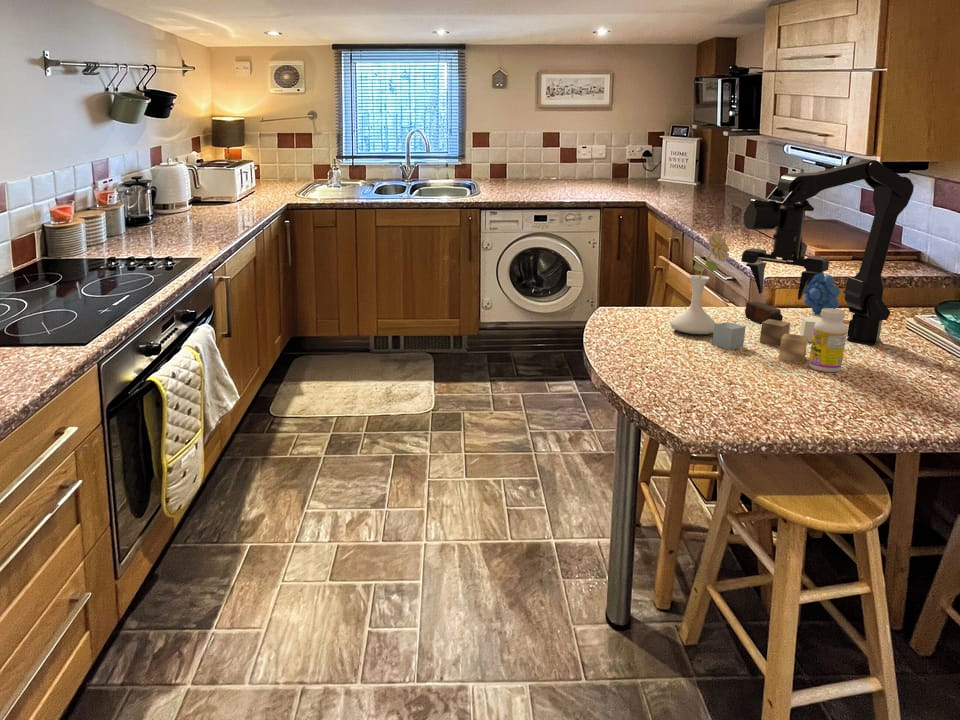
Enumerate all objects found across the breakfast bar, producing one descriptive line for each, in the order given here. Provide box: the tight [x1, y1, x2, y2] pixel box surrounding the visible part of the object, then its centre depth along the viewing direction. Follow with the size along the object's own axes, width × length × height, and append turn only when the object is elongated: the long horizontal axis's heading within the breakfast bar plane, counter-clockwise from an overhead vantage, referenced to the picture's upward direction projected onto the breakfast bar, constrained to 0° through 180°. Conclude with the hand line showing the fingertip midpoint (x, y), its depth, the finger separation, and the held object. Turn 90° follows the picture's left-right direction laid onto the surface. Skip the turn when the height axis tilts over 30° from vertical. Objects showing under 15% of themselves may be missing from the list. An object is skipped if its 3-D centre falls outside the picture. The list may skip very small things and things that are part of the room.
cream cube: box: [799, 316, 822, 343], centre depth 213 cm, size 5×5×5 cm
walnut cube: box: [759, 319, 791, 347], centre depth 209 cm, size 5×5×5 cm
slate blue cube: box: [711, 321, 746, 351], centre depth 205 cm, size 5×5×5 cm
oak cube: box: [778, 333, 808, 364], centre depth 196 cm, size 5×5×5 cm
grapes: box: [803, 272, 841, 315], centre depth 239 cm, size 12×7×12 cm, turn 38°
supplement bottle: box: [808, 308, 848, 373], centre depth 188 cm, size 7×7×13 cm
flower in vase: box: [669, 229, 730, 335], centre depth 213 cm, size 13×11×25 cm
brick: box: [744, 300, 783, 325], centre depth 229 cm, size 11×4×5 cm, turn 20°
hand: (779, 296), depth 207 cm, fingers open, 9 cm apart
